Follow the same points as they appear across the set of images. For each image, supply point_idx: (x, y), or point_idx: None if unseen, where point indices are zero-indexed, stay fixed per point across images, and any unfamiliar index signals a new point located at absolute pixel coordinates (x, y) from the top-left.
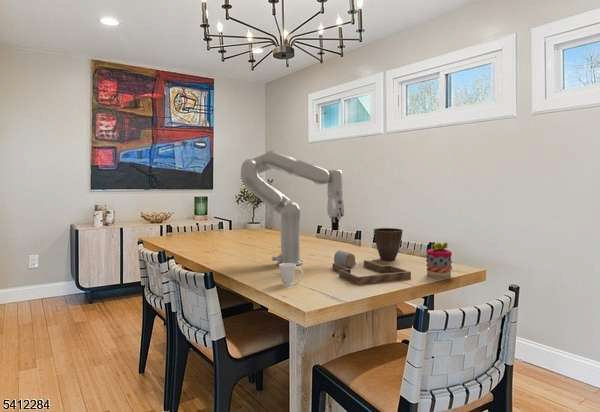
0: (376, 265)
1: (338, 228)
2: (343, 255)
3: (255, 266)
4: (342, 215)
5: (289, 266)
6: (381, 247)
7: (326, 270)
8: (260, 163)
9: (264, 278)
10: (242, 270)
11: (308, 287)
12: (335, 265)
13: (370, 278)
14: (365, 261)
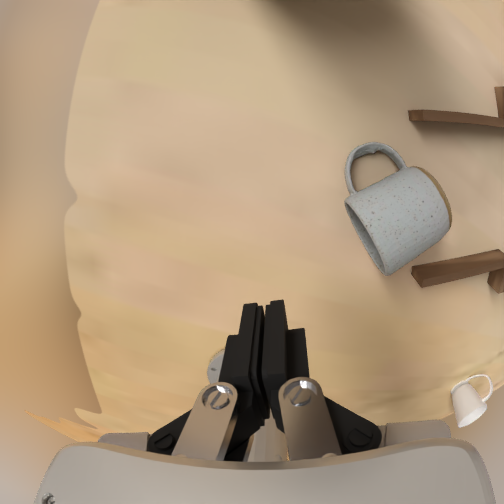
0: (497, 126)
1: (284, 311)
2: (431, 245)
3: None
4: (403, 461)
5: (484, 411)
6: None
7: (410, 297)
8: None
9: (395, 419)
10: None
11: (494, 356)
12: (440, 280)
13: None
14: (435, 120)
